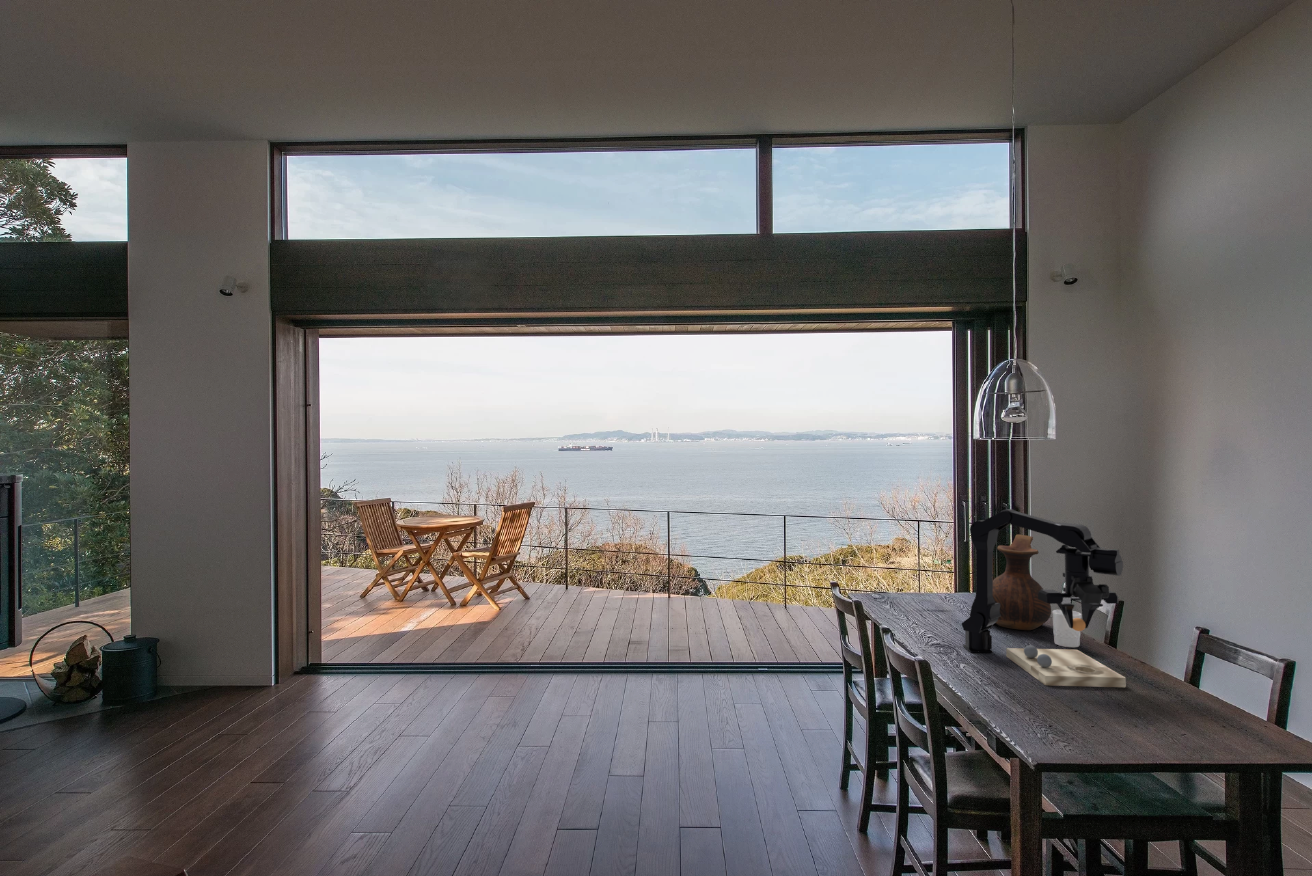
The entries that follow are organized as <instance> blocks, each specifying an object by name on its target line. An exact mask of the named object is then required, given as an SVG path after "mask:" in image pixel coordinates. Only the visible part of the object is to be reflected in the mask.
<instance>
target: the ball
mask: <svg viewBox="0 0 1312 876" xmlns="http://www.w3.org/2000/svg"><path fill="white" fill-rule="evenodd" d="M1085 627H1086V624H1085V622H1084V621H1083V620H1082V618H1081V619H1080V618H1074V619H1073V629H1074V630H1076V631H1081V632H1082V631H1084V630H1085V629H1086V628H1085Z"/></svg>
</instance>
